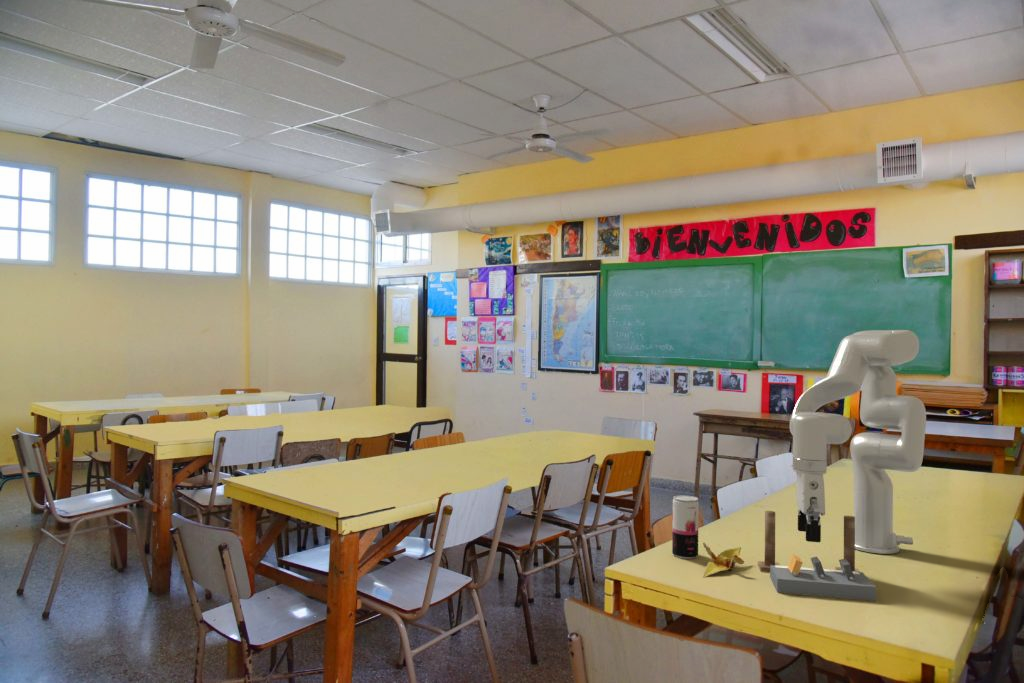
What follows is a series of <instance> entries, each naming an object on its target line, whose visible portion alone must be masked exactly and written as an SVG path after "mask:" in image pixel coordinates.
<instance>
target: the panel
mask: <svg viewBox="0 0 1024 683" xmlns="http://www.w3.org/2000/svg"><path fill="white" fill-rule="evenodd" d="M788 567H789V565H781V566H778V565H770V572H769V578H771V579H770V581H771V582H772V584H773V587H774V586H775V587H774V589H775V591H776V592H777V593H778V592H779V594H789V595H792V594H793V595H804V596H815V597H826V598H836V599H850V600H861V601H872V602H873V601H874V602H877V586H876V585H875V584H874V583H873V582H872V581H871V580H870V579H869V578H868V577H867V575H865V573H864V572H862V571H860V572H855V571H852V572H853V575H854V577H855V578H854V580H853V581H851V580H850V579H849V580H848V579H847V578H846V576H845V575H844V574H843V571H842V570H835V569H830V568H829V569H827V568H823V570H824V573H825V576H824V578H821V577H818V575H817V574H816V572H815V570H814V567H805V566H804V567H802V566H801V568H800V571H799V574H798V575H797V576H794V575H793V574H792V573H791V571H790V570H789V568H788Z"/></svg>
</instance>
